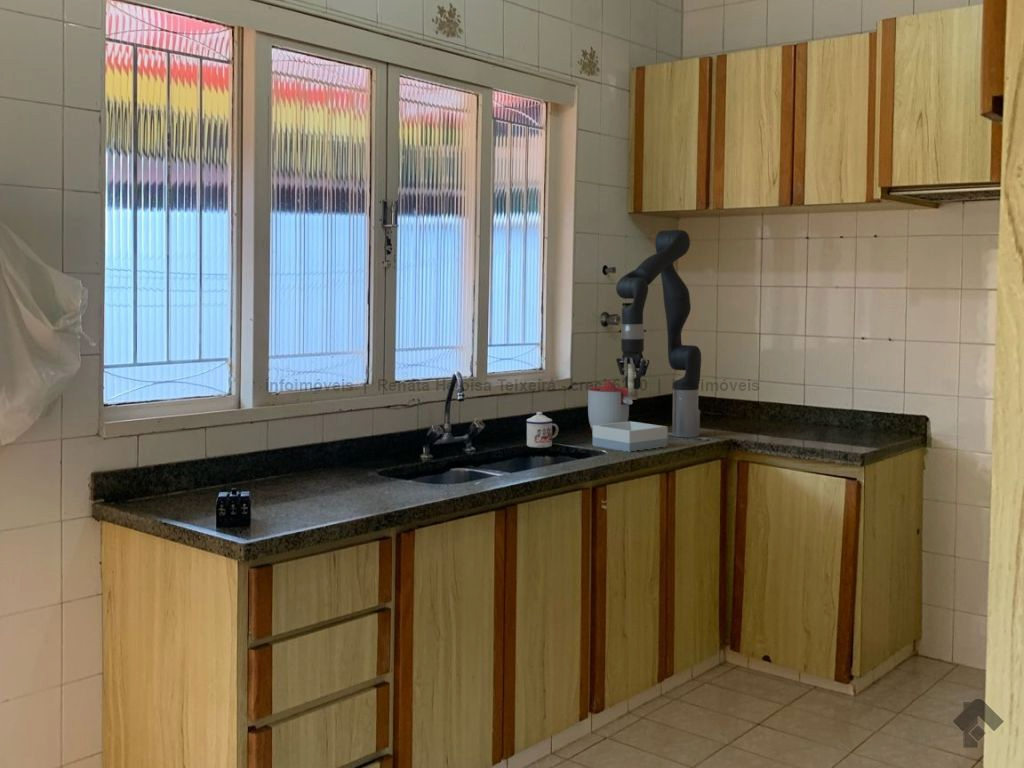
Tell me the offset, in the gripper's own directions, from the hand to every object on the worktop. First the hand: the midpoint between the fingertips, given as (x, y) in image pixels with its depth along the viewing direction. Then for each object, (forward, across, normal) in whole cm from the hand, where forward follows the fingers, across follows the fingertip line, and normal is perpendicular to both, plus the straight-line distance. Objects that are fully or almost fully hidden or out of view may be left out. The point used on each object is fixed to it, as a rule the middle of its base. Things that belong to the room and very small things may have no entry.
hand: (632, 388), depth 349 cm
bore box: (+20, +3, -2) cm, 21 cm away
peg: (+4, 0, 0) cm, 4 cm away
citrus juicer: (+21, +29, -18) cm, 40 cm away
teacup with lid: (+20, +24, +20) cm, 37 cm away
